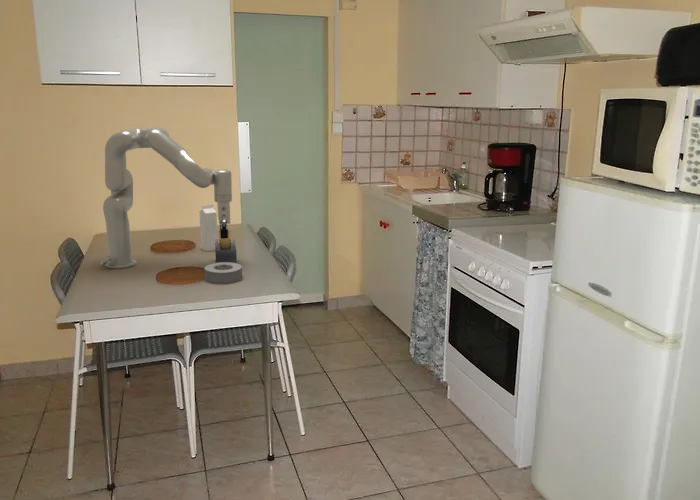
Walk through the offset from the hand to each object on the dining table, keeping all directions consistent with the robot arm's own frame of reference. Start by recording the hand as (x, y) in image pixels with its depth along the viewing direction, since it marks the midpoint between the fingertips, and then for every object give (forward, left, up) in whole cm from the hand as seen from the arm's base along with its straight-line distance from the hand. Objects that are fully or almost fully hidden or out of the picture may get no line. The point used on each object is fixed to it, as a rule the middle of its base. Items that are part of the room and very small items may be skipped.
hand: (223, 235), depth 268 cm
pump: (0, 0, -5) cm, 5 cm away
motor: (+1, +1, -13) cm, 13 cm away
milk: (+16, +24, -13) cm, 32 cm away
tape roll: (-18, -14, -13) cm, 26 cm away
